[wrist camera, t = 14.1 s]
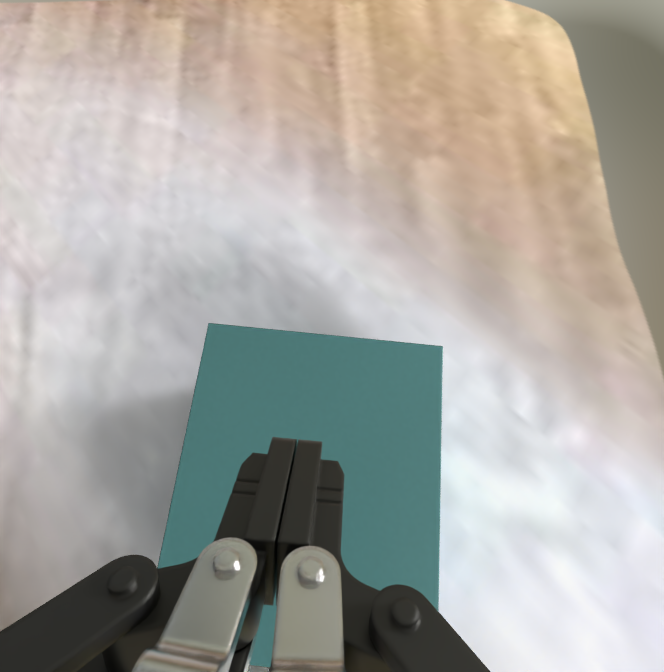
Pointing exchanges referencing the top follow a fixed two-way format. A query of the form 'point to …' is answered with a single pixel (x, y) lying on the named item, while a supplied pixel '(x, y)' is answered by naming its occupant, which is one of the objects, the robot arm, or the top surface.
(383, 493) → the lid
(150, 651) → the robot arm
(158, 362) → the top surface
